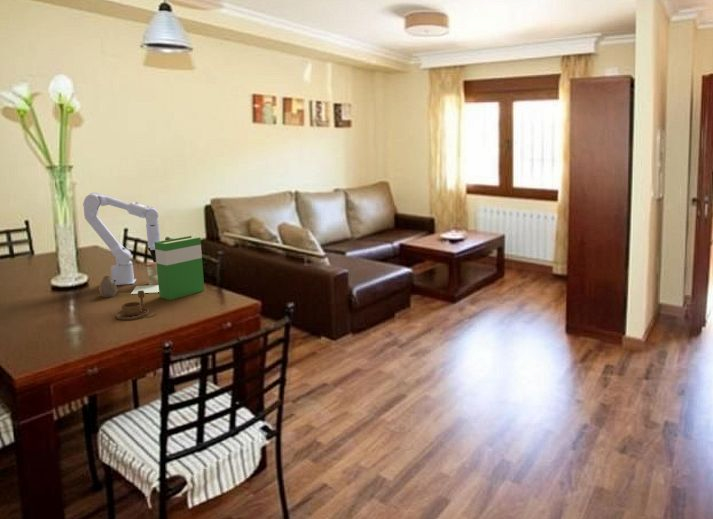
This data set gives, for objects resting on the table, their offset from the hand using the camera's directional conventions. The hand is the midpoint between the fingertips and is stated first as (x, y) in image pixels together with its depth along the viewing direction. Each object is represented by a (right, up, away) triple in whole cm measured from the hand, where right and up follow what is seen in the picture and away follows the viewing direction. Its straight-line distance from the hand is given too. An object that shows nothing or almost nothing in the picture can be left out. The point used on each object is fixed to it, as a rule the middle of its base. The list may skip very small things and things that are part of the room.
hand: (156, 261), depth 261 cm
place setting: (+10, -20, -46) cm, 51 cm away
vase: (-12, -15, -24) cm, 31 cm away
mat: (+4, -12, -14) cm, 19 cm away
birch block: (+2, -10, -5) cm, 12 cm away
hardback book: (+19, -14, -22) cm, 32 cm away
